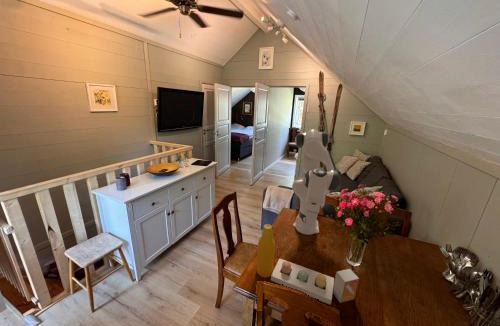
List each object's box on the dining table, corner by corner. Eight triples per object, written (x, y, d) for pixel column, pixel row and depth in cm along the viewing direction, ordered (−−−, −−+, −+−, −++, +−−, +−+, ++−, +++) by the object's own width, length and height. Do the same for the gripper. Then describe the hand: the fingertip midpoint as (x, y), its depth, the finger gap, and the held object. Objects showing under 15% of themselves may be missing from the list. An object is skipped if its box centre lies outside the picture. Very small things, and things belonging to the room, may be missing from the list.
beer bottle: (263, 281, 110) (266, 234, 101) (253, 269, 117) (255, 224, 108) (276, 273, 115) (280, 228, 106) (265, 262, 122) (268, 219, 113)
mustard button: (316, 279, 109) (317, 272, 108) (325, 282, 107) (326, 275, 106) (314, 286, 105) (316, 279, 104) (324, 289, 103) (325, 282, 102)
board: (279, 262, 123) (279, 258, 122) (333, 282, 110) (334, 278, 109) (270, 280, 110) (271, 275, 110) (330, 304, 98) (331, 300, 97)
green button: (298, 275, 113) (299, 269, 112) (307, 279, 111) (308, 272, 110) (296, 282, 109) (297, 275, 108) (305, 285, 107) (306, 278, 106)
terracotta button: (283, 266, 116) (283, 260, 115) (291, 269, 114) (291, 263, 113) (280, 272, 112) (281, 266, 111) (288, 275, 110) (289, 269, 109)
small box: (340, 303, 99) (345, 282, 95) (331, 291, 105) (336, 271, 101) (354, 299, 101) (359, 278, 97) (345, 288, 107) (349, 268, 103)
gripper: (312, 191, 116) (309, 213, 120) (305, 208, 99) (301, 233, 103) (324, 194, 114) (321, 216, 118) (318, 211, 96) (315, 236, 100)
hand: (312, 224), depth 110 cm, fingers closed
